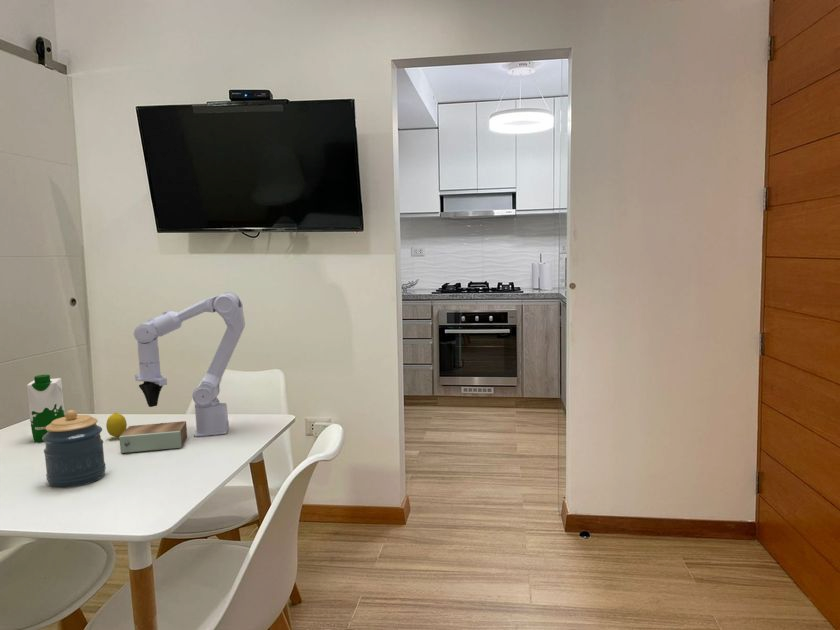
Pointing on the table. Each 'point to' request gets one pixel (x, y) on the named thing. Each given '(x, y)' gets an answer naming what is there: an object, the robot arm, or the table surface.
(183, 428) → the cabinet
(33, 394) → the milk carton
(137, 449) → the door
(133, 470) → the table surface
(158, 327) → the robot arm
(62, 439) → the canister
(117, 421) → the lemon
